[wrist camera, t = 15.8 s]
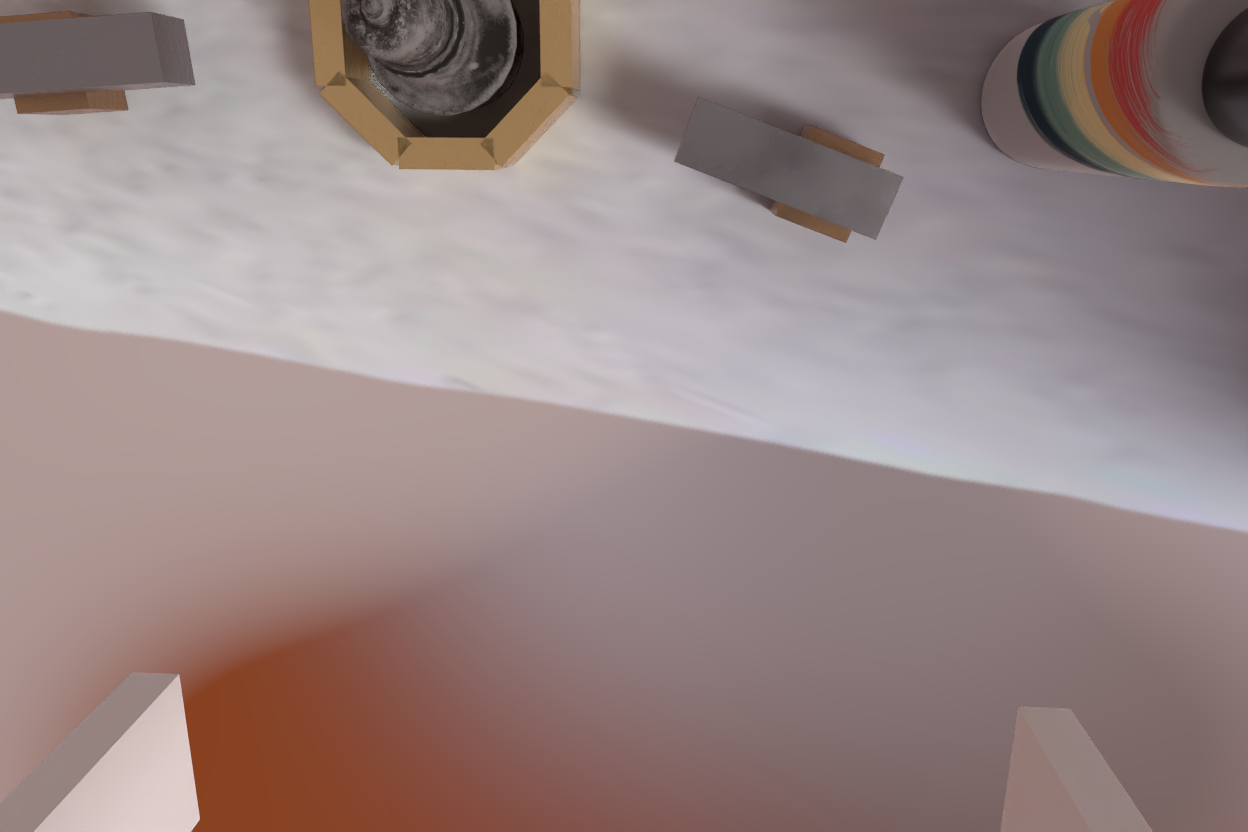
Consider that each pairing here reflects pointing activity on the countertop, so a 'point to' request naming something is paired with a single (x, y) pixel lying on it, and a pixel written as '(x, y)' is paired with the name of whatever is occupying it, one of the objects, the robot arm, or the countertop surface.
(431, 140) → the brass collar
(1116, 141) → the lotion bottle
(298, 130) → the countertop surface
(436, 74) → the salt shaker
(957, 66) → the countertop surface
